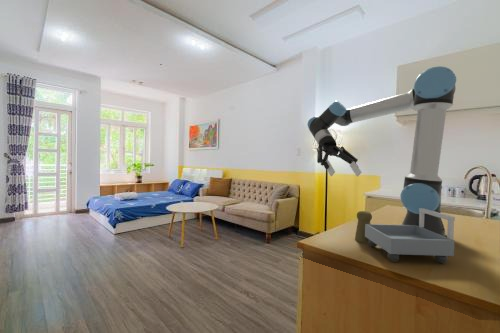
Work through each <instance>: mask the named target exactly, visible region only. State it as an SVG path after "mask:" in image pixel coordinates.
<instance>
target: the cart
mask: <svg viewBox="0 0 500 333" xmlns="http://www.w3.org/2000/svg"><path fill="white" fill-rule="evenodd" d="M424 213H426V214H429V215H432V216H436V217H439V218H441V220H442V219H443V220H446V221H447V227H446V228H447V229H446V230H447V232H446V236H442V235H439V234H437V233H434V232H432V231H429V230H427V229H424V228H422V227H424ZM455 221H456V218H455V216H452V215H450V214H446V213H442V212H441V213H439V212H435V211H431V210H428V209H424V208H419V226H417V225H402V224H384V223H383V224H382V223H381V224H379V223H378V224H377V223H370V224H365V237H366V238H368V239H369V241H368V243H367V244H368V245H369V246H370V247H373V248H375V247H377V246H378V247H380V248H381V249H383V250H384V251H386V252H387V254H386V255H387V258H388V260H389V261H391V262H398V261H399V260H400V255H407V256H408V255H409V256H410V255H411V256H434V259H435V261H437V262H438V263H440V264H446V263H447V262H448V261H449V258H448V257H454V256H455V240H454V227H455Z"/></svg>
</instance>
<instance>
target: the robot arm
mask: <svg viewBox="0 0 500 333" xmlns="http://www.w3.org/2000/svg"><path fill="white" fill-rule="evenodd" d="M456 82H457V76H456V74H455V73H454V71H453V70H452V69H451V68H449V67H446V66H433V67H430V68H427V69H425V70H424V71H422V72H421V73H420V74H419V75H418V76H417V77H416V79H415V81H414V84H413V88H411V89H410V91H408V92H404V93H401V94H397V95H394V96H390V97H387V98H382V99H378V100H376V101H372V102H367V103H365V104H361V105H358V106H353V107H351V108H347V107H346V106H345V105H344V104H342V102H340V101H339V100H335V101H334V102H332V103H331V104H329V106H328V107H327V108H326V109H325V110H324V111H323V112H322V113H321V114H320V115H319V116H313V117H311V118H309V119H308V121H307V125H306V126H307V128H308V131H309V132H310V133H311V135H312V136H313V138H314V140H315V142H316V144H317V145H318V146H317V148H316V152H317V158H316V161H317V162H316V163H317V164H320V165H321V166H322V167H324V169H325V170H326V171H327V172H328V174H329V177H333V175H334V174H335V173H336V170H335V169H334V167H333V165H332V164H331V162H330V160H327V159H329V156H330V157H336V158H339V159H341V160H343V161H344V162H346V163H347V164H349V167H350V168H351V170H352V171H353V173H354V174H355V176H356V177H359V176H360V175H361V174H362V170H361V169H360V168H359V166H358V158H357V157H355V156H354V155H353V154H352V153H351V152H349V151H348V150H346V149H345V147H344V146H341V147H338V146H337V141H336V140H335V138H334V137H333V134H331V132H330V131H329V130H328V129H329V128H331V127H332V126H333V125H334V124H337V125H339V126H340V127H347V126H350V125H351V124H352V123H356V122H357V123H358V122H361V121H365V120H370V119H375V118H378V117H382V116H387V115H392V114H397V113H400V112H405V111H409V110H413V111H416V112H417V114H416V122H415V129H414V138H413V139H414V140H413V145H412V155H411V161H410V169H409V173H408V174H406V175H405V176H404V180H403V181H404V182H403V189H402V190H401V192H400V197H399V198H400V202H401V204H402V206H403V207H404V208H405V209H406V214H405V216H404V218H403V221H402V223H401V225H417V226H419V208H424V209H428V210H431V211H435V212H439V213H442V212H441V210H442V208H441V207H442V190H443V185H442V183H443V179H442V178H440V176H439V168H440V166H439V165H440V160H441V153H442V146H443V145H442V144H443V139H444V130H445V124H446V116H447V110H449V109H450V108H452V106H453V105H454V104H453V103H454V98H455V97H454V96H455V92H456ZM323 153H325V154H323ZM323 155H324V156H323ZM422 228H424V229H427V230H429V231H432V232H434V233H437V234H439V235H442V236H444V237H446V229H445V226H444V222H443V220H442V218H439V217H436V216H432V215H429V214H426V213H424V227H422Z"/></svg>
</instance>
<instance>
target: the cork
mask: <svg viewBox="0 0 500 333" xmlns="http://www.w3.org/2000/svg"><path fill="white" fill-rule="evenodd" d="M372 218H373V215H372V213H371V212H369V211H366V210H360V211H358V212H357V213H356V219H357V226H356V230H355V236H354V241H356V242H358V243H362V244H369V243H368V241H369V239H368V238H366V237H365V224H371V221H372Z"/></svg>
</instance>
